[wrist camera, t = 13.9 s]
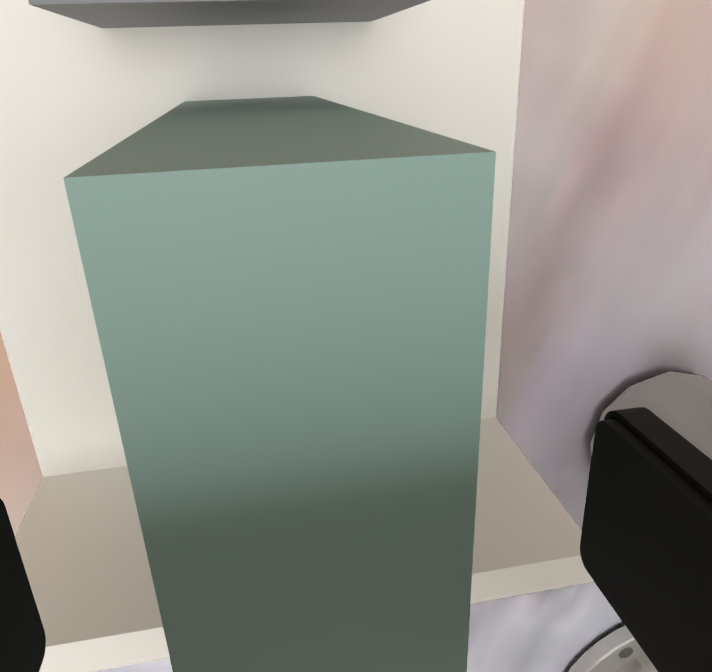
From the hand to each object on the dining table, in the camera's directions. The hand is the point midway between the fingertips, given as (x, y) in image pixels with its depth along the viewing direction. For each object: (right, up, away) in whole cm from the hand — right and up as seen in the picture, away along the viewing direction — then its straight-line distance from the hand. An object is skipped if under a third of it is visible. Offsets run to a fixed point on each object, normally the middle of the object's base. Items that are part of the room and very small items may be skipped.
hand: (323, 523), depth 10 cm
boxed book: (-3, +5, +12) cm, 13 cm away
